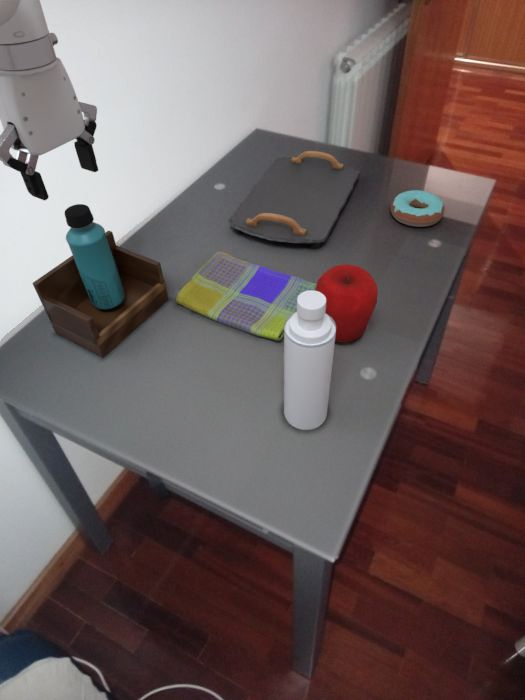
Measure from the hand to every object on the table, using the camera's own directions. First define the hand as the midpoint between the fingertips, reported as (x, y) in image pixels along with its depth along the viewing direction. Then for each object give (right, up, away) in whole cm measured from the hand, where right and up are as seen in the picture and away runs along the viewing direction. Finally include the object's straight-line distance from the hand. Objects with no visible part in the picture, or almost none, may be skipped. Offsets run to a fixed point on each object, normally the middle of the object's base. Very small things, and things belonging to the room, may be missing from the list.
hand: (66, 183), depth 73 cm
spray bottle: (+36, -35, +4) cm, 50 cm away
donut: (+65, +6, +41) cm, 77 cm away
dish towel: (+26, -15, +23) cm, 38 cm away
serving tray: (+38, +10, +46) cm, 60 cm away
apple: (+44, -22, +16) cm, 51 cm away
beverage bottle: (+1, -17, +18) cm, 25 cm away
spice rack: (+1, -19, +20) cm, 28 cm away
